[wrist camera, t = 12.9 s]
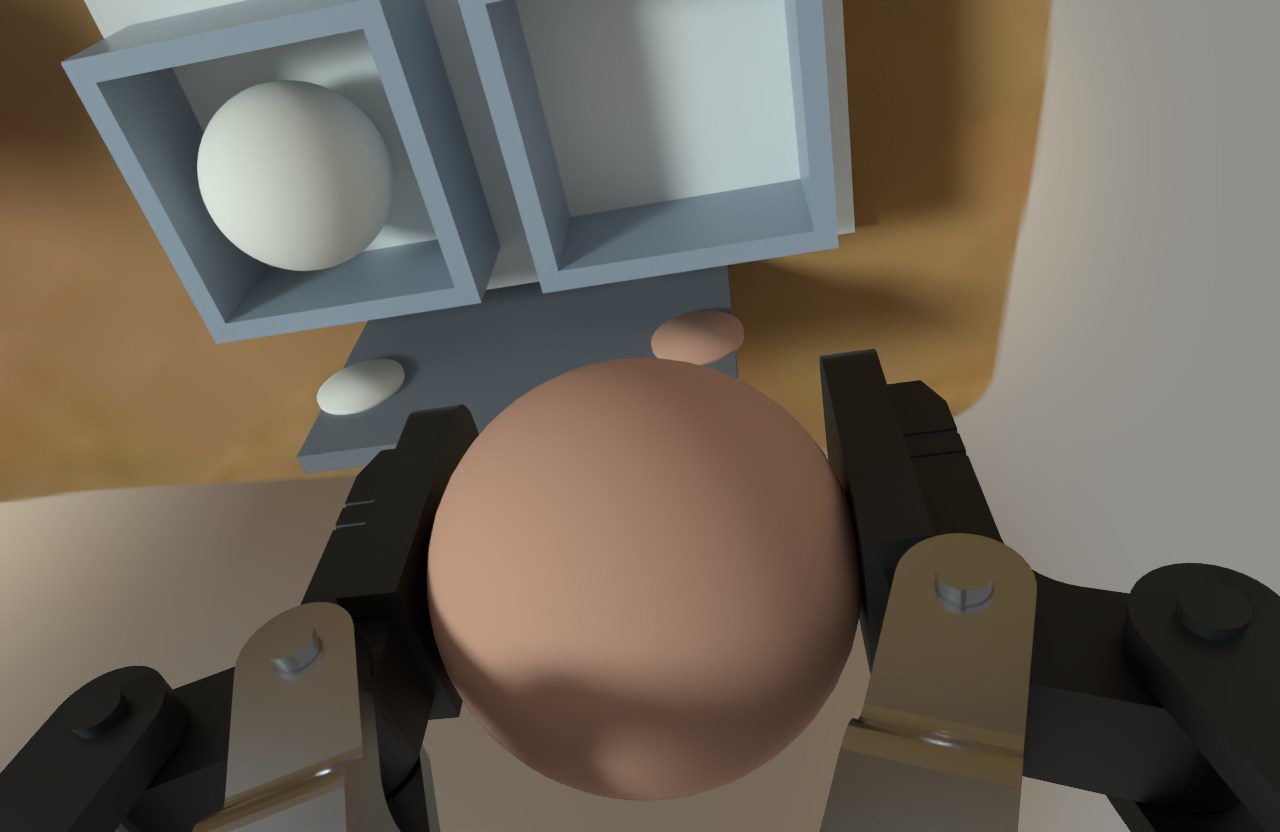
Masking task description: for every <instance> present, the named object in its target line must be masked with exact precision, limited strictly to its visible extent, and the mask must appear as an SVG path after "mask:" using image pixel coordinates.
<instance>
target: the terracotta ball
mask: <svg viewBox="0 0 1280 832" xmlns="http://www.w3.org/2000/svg"><path fill="white" fill-rule="evenodd" d="M861 591H862V587H861V578H860V568H859V559H858V552H857V545H856V538H855V532H854V527H853V521H852V516H851V510H850V506H849V503H848V500H847V496H846V494H845V491H844V488H843V486H842V484H841V482H840V481H839V479H838V477H837V475H836V473H835V472H834V470H833V468H832V466H831V465H830V463H829V461H828V459H827V458H826V456H825V454H824V452H823V451H822V450H821V448H820V447H819V446H818V445H817V443H816V442H815V441H814V440H813V438H812V437H811V436H810V435H809V434H808V432H807V431H806V430H805V429H804V428H803V427H802V426H801V425H800V423H799V422H798V421H797V420H795V419H794V418H793V417H792V416H791V415H790V414H789V413H788V412H787V411H786V410H785V409H784V408H783V407H781V406H780V405H779V404H777V403H776V402H774V401H773V400H771V399H770V398H768V397H767V396H766V395H764V394H763V393H761V392H760V391H758V390H757V389H755V388H754V387H752V386H750V385H748V384H746V383H744V382H742V381H741V380H739V379H737V378H735V377H733V376H731V375H728V374H725V373H723V372H720V371H717V370H715V369H712V368H709V367H705V366H701V365H697V364H693V363H689V362H684V361H677V360H670V359H662V358H630V359H618V360H610V361H605V362H600V363H595V364H590V365H587V366H584V367H580V368H577V369H574V370H571V371H568V372H566V373H564V374H561V375H559V376H557V377H555V378H553V379H551V380H549V381H546V382H545V383H543V384H541V385H539V386H537V387H535V388H534V389H532V390H531V391H529V392H528V393H526V394H524V395H523V396H521V397H520V398H518V399H516V400H515V401H514V402H513V403H512V404H511V405H509V406H508V407H507V408H506V409H505V410H504V411H502V412H501V413H500V414H499V415H498V416H497V417H496V418H495V419H494V420H493V421H492V422H490V423H489V424H488V425H487V427H486V428H485V429H484V430H483V431H482V432H481V433H480V435H479V436H478V437H477V438H476V439H475V440H474V442H473V443H472V444H471V446H470V447H469V449H468V450H467V452H466V453H465V455H464V456H463V458H462V459H461V461H460V463H459V464H458V466H457V467H456V469H455V471H454V472H453V474H452V476H451V478H450V480H449V483H448V485H447V487H446V490H445V492H444V495H443V497H442V500H441V502H440V505H439V507H438V510H437V512H436V516H435V520H434V525H433V530H432V534H431V540H430V545H429V550H428V559H427V599H428V606H429V613H430V619H431V624H432V630H433V635H434V638H435V641H436V644H437V647H438V650H439V653H440V656H441V659H442V661H443V664H444V666H445V669H446V671H447V674H448V676H449V678H450V679H451V681H452V683H453V685H454V687H455V688H456V690H457V692H458V694H459V695H460V697H461V699H462V700H463V702H464V704H465V705H466V707H467V708H468V709H469V711H470V712H471V713H472V714H473V716H474V717H475V718H476V719H477V720H478V722H479V723H480V724H481V725H482V726H483V727H484V729H485V730H486V731H487V732H488V733H489V734H490V736H491V737H492V738H493V739H495V740H496V741H497V742H498V743H499V744H500V745H501V746H502V747H503V748H505V749H506V750H507V751H508V752H510V753H511V754H512V755H514V756H515V757H516V758H518V759H519V760H520V761H522V762H523V763H525V764H526V765H527V766H529V767H530V768H532V769H533V770H535V771H537V772H539V773H540V774H542V775H544V776H546V777H548V778H550V779H553V780H555V781H557V782H559V783H562V784H564V785H567V786H570V787H572V788H575V789H578V790H581V791H584V792H587V793H591V794H595V795H599V796H604V797H609V798H615V799H624V800H640V801H642V800H643V801H647V800H665V799H674V798H680V797H685V796H690V795H694V794H697V793H701V792H705V791H708V790H712V789H715V788H718V787H721V786H723V785H726V784H729V783H731V782H733V781H735V780H737V779H739V778H741V777H744V776H745V775H747V774H749V773H750V772H752V771H753V770H755V769H757V768H758V767H760V766H762V765H763V764H764V763H766V762H768V761H769V760H771V759H773V758H774V757H775V756H777V755H778V754H779V753H780V752H781V751H782V750H784V749H785V748H786V747H787V746H788V745H789V744H790V743H791V742H792V741H793V740H795V739H796V738H797V737H798V736H799V735H800V734H801V733H802V732H803V731H804V729H805V728H806V727H807V726H808V725H809V724H810V723H811V722H812V720H813V719H814V718H815V716H816V715H817V714H818V712H819V711H820V709H821V708H822V706H823V705H824V703H825V702H826V700H827V699H828V697H829V696H830V694H831V693H832V691H833V690H834V688H835V686H836V684H837V682H838V680H839V677H840V675H841V673H842V670H843V668H844V666H845V663H846V662H847V659H848V657H849V655H850V652H851V650H852V646H853V641H854V637H855V633H856V629H857V624H858V620H859V616H860V611H861Z"/></svg>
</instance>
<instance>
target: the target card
mask: <svg viewBox="0 0 1280 832" xmlns="http://www.w3.org/2000/svg"><path fill="white" fill-rule="evenodd" d="M743 341H744V329H743V325H742V323H741V322H740V321H739V319H737V318H736V317H735V316H733V315H732V304H731V293H730V282H729V272H728V265H724V266H718V267H711V268H705V269H698V270H692V271H685V272H679V273H672V274H666V275H659V276H653V277H646V278H640V279H633V280H627V281H620V282H614V283H607V284H601V285H595V286H588V287H582V288H575V289H569V290H562V291H556V292H549V293H543V292H542V289H541V285H540V282H533V283H527V284H520V285H514V286H507V287H501V288H495V289H488V290H486V291H485V294H484V297H483V300H482V303H478V304H471V305H465V306H458V307H452V308H446V309H439V310H433V311H426V312H420V313H413V314H407V315H400V316H394V317H387V318H381V319H374V320H368V322H367V324H366V326H365V328H364V330H363V331H362V333H361V335H360V337H359V339H358V341H357V343H356V345H355V347H354V349H353V351H352V352H351V354H350V356H349V358H348V360H347V362H346V364H345V366H344V368H343V369H342V370H340V371H339V372H337V373H335V374H334V375H333V376H331V377H330V378H329V379H328V380H327V381H326V382H325V383H324V384H323V385H322V386H321V388H320V389H319V391H318V394H317V401H318V404H319V406H320V408H321V409H322V410H321V412H320V413H319V415H318V417H317V419H316V421H315V423H314V425H313V427H312V429H311V431H310V433H309V434H308V436H307V438H306V440H305V442H304V444H303V446H302V448H301V450H300V452H299V454H298V455H297V459H298V460H299V462H300V464H301V466H302V468H303V470H304V471H305V473H306V474H307V473H314V472H322V471H330V470H337V469H345V468H353V467H360V466H367V465H368V464H369V463H370V462H371V461H372V459H373V458H374V457H375V456H376V455H377V454H378V453H379V452H380V451H381V450H388V449H395V448H396V446H397V443H398V441H399V438H400V436H401V433H402V431H403V428H404V426H405V423H406V421H407V418H408V416H409V415H410V413H411V412H413V411H419V410H426V409H433V408H440V407H448V406H455V405H465V406H466V407H467V408H468V409H469V410H470V412H471V414H472V416H473V419H474V421H475V424H476V427H477V430H478V432H479V435H480V433H481V432H482V431H483V430H484V429H485V428H486V427H487V425H488V424H489V423H490V422H492V421H493V420H494V419H495V418H496V417H497V416H498V415H499V414H500V413H501V412H502V411H504V410H505V409H506V408H507V407H508V406H509V405H511V404H512V403H513V402H514V401H515V400H516V399H518V398H520V397H521V396H523V395H524V394H526V393H528V392H529V391H531V390H532V389H534V388H535V387H537V386H539V385H541V384H543V383H545V382H546V381H549V380H551V379H553V378H555V377H557V376H559V375H561V374H564V373H566V372H568V371H571V370H574V369H577V368H580V367H584V366H587V365H590V364H595V363H600V362H605V361H610V360H618V359H630V358H662V359H670V360H677V361H684V362H689V363H693V364H697V365H701V366H705V367H709V368H712V369H715V370H717V371H720V372H723V373H725V374H728V375H731V376H733V377H735V378H737V379H738V369H737V358H736V351H737V350H738V349H739V348H740V346H741V345H742V343H743Z"/></svg>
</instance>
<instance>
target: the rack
mask: <svg viewBox="0 0 1280 832" xmlns="http://www.w3.org/2000/svg"><path fill="white" fill-rule="evenodd" d="M84 1H85V3H86V5H87V7H88V9H89V11H90V13H91V15H92V17H93V19H94V20H95V22H96V24H97V26H98V28H99V30H100V32H101V34H102V36H103V38H104V39H103V40H101V41H99V42H97V43H96V44H94V45H92V46H90V47H88V48H86V49H84V50H83V51H81V52H79V53H77V54H75V55H73V56H71V57H70V58H68V59H66V60H64V61H62V62H60V63H61V65H62V67H63V68H64V70H65V72H66V74H67V76H68V77H69V79H70V81H71V83H72V85H73V86H74V88H75V90H76V92H77V94H78V95H79V97H80V99H81V101H82V103H83V104H84V106H85V108H86V110H87V112H88V113H89V115H90V117H91V119H92V121H93V122H94V124H95V126H96V128H97V130H98V131H99V133H100V135H101V137H102V139H103V140H104V142H105V144H106V146H107V148H108V149H109V151H110V153H111V155H112V157H113V158H114V160H115V162H116V164H117V166H118V167H119V169H120V171H121V173H122V175H123V176H124V178H125V180H126V182H127V184H128V186H129V187H130V189H131V191H132V193H133V195H134V196H135V198H136V200H137V202H138V204H139V205H140V207H141V209H142V211H143V213H144V214H145V216H146V218H147V220H148V222H149V223H150V225H151V227H152V229H153V231H154V232H155V234H156V236H157V238H158V240H159V241H160V243H161V245H162V247H163V249H164V250H165V252H166V254H167V256H168V258H169V259H170V261H171V263H172V265H173V267H174V268H175V270H176V272H177V274H178V276H179V277H180V279H181V281H182V283H183V285H184V286H185V288H186V290H187V292H188V294H189V295H190V297H191V299H192V301H193V303H194V304H195V306H196V308H197V310H198V312H199V313H200V315H201V317H202V319H203V321H204V323H205V324H206V326H207V328H208V330H209V332H210V333H211V335H212V337H213V339H214V341H215V342H216V344H219V343H225V342H232V341H238V340H245V339H251V338H258V337H264V336H271V335H277V334H284V333H290V332H297V331H303V330H310V329H316V328H322V327H329V326H335V325H342V324H348V323H355V322H361V321H368V320H374V319H381V318H387V317H394V316H400V315H407V314H413V313H420V312H426V311H433V310H439V309H446V308H452V307H458V306H465V305H471V304H478V303H482V300H483V297H484V294H485V291H486V290H488V289H495V288H501V287H507V286H514V285H520V284H527V283H533V282H540V285H541V289H542V292H543V293H549V292H556V291H562V290H569V289H575V288H582V287H588V286H595V285H601V284H607V283H614V282H620V281H627V280H633V279H640V278H646V277H653V276H659V275H666V274H672V273H679V272H685V271H692V270H698V269H705V268H711V267H718V266H724V265H731V264H737V263H744V262H750V261H756V260H763V259H769V258H776V257H782V256H789V255H795V254H802V253H808V252H815V251H821V250H828V249H834V248H839V246H838V235H840V234H846V233H853V232H855V223H854V204H853V186H852V168H851V149H850V131H849V112H848V94H847V75H846V57H845V38H844V20H843V1H842V0H84ZM279 80H294V81H303V82H309V83H313V84H317V85H320V86H323V87H325V88H328V89H330V90H332V91H334V92H336V93H338V94H340V95H341V96H343V97H345V98H346V99H348V100H349V101H351V102H352V103H353V104H355V105H356V106H357V107H358V108H359V109H360V110H362V111H363V112H364V114H365V115H366V116H367V117H368V118H369V119H370V120H371V122H372V123H373V124H374V126H375V127H376V128H377V130H378V131H379V133H380V135H381V136H382V138H383V140H384V142H385V144H386V146H387V149H388V151H389V154H390V158H391V161H392V167H393V173H394V195H393V202H392V206H391V210H390V213H389V215H388V218H387V220H386V222H385V224H384V227H383V228H382V230H381V231H380V233H379V234H378V236H377V237H376V238H375V239H374V241H373V242H372V243H371V244H370V245H369V246H368V247H367V248H366V249H364V250H363V251H362V252H361V253H359V254H358V255H357V256H355V257H354V258H352V259H350V260H348V261H346V262H344V263H341V264H339V265H336V266H333V267H330V268H326V269H321V270H311V271H295V270H288V269H283V268H279V267H275V266H272V265H269V264H266V263H264V262H261V261H259V260H257V259H255V258H253V257H251V256H250V255H248V254H247V253H245V252H243V251H242V250H241V249H239V248H238V247H237V246H235V245H234V244H233V243H232V242H231V241H230V240H229V239H228V238H227V237H226V236H225V235H224V234H223V233H222V232H221V230H220V229H219V228H218V226H217V225H216V224H215V222H214V220H213V219H212V217H211V215H210V214H209V212H208V210H207V208H206V205H205V203H204V201H203V198H202V195H201V192H200V187H199V181H198V174H197V161H198V152H199V147H200V143H201V140H202V136H203V134H204V132H205V130H206V128H207V126H208V124H209V122H210V120H211V119H212V118H213V116H214V115H215V113H216V112H217V111H218V110H219V109H220V108H221V107H222V106H223V105H224V104H225V103H226V102H227V101H228V100H229V99H231V98H232V97H234V96H235V95H237V94H238V93H240V92H242V91H243V90H245V89H248V88H250V87H252V86H255V85H259V84H262V83H266V82H270V81H279Z"/></svg>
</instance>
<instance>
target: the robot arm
mask: <svg viewBox="0 0 1280 832" xmlns="http://www.w3.org/2000/svg"><path fill="white" fill-rule="evenodd" d="M820 373H821V385H822V396H823V408H824V419H825V430H826V442H827V452H828V460H829V463H830V465H831V466H832V468H833V470H834V472H835V473H836V475H837V477H838V479H839V481H840V482H841V484H842V486H843V488H844V491H845V494H846V496H847V500H848V503H849V506H850V510H851V516H852V521H853V527H854V532H855V538H856V545H857V552H858V559H859V568H860V578H861V587H862V591H861V611H860V616H859V620H860V625H861V630H862V634H863V640H864V645H865V649H866V654H867V659H868V664H869V669H870V674H871V676H870V680H869V684H868V689H867V693H866V697H865V701H864V706H863V710H862V712H861V715H860V718H859V719H856V718H852V719H851V720H850V722H849V724H848V726H847V728H846V731H845V734H844V737H843V740H842V744H841V747H840V751H839V756H838V759H837V763H836V767H835V772H834V776H833V780H832V784H831V788H830V792H829V796H828V800H827V804H826V808H825V812H824V816H823V820H822V824H821V828H820V832H1018V821H1019V810H1020V798H1021V785H1022V776H1025V777H1029V778H1034V779H1039V780H1043V781H1047V782H1051V783H1056V784H1060V785H1065V786H1069V787H1074V788H1078V789H1083V790H1087V791H1092V792H1096V793H1100V794H1105V795H1106V796H1107V798H1108V799H1109V801H1110V802H1111V804H1112V805H1113V807H1114V808H1115V810H1116V811H1117V812H1118V814H1119V815H1120V817H1121V818H1122V820H1123V821H1124V823H1125V824H1126V825H1127V827H1128V828H1129V830H1130V831H1131V832H1280V596H1278V595H1277V594H1276V593H1275V592H1273V591H1272V590H1271V589H1270V588H1268V587H1267V586H1265V585H1264V584H1262V583H1260V582H1259V581H1257V580H1255V579H1253V578H1251V577H1249V576H1247V575H1245V574H1242V573H1239V572H1237V571H1234V570H1231V569H1228V568H1223V567H1220V566H1216V565H1209V564H1201V563H1181V564H1172V565H1168V566H1163V567H1160V568H1158V569H1155V570H1152V571H1151V572H1149V573H1148V574H1146V575H1144V576H1143V577H1142V578H1140V579H1139V580H1138V581H1137V582H1136V584H1135V585H1134V587H1133V588H1132V590H1131V593H1130V594H1129V593H1122V592H1115V591H1108V590H1101V589H1094V588H1087V587H1080V586H1075V585H1070V584H1066V583H1063V582H1059V581H1055V580H1053V579H1051V578H1048V577H1046V576H1043V575H1041V574H1039V573H1037V572H1036V571H1034V570H1032V569H1031V568H1030V566H1029V564H1028V563H1027V562H1026V561H1025V560H1024V558H1023V557H1022V556H1020V555H1019V554H1018V553H1017V552H1016V551H1015V550H1013V549H1011V548H1010V547H1008V546H1007V545H1005V544H1004V542H1003V541H1002V539H1001V537H1000V534H999V532H998V529H997V527H996V524H995V522H994V519H993V517H992V515H991V512H990V509H989V507H988V504H987V502H986V499H985V497H984V494H983V492H982V489H981V487H980V485H979V482H978V479H977V477H976V475H975V472H974V469H973V467H972V464H971V462H970V459H969V457H968V456H966V450H965V447H964V444H963V442H962V440H961V437H960V435H959V434H958V433H957V427H956V425H955V422H954V420H953V417H952V415H951V412H950V410H949V407H948V405H947V402H946V401H945V400H944V399H943V398H942V397H940V396H939V395H938V394H937V393H935V392H934V391H933V390H932V389H931V388H929V387H928V386H927V385H926V384H925V383H923V382H922V381H921V380H918V381H911V382H903V383H896V384H888V385H887V383H886V380H885V377H884V374H883V371H882V367H881V364H880V361H879V358H878V355H877V352H876V350H875V349H868V350H861V351H854V352H846V353H839V354H832V355H825V356H820ZM478 436H479V432H478V430H477V427H476V424H475V421H474V419H473V416H472V414H471V412H470V410H469V409H468V408H467V407H466V406H465V405H455V406H448V407H440V408H433V409H426V410H419V411H413V412H411V413H410V415H409V416H408V418H407V421H406V423H405V426H404V428H403V431H402V433H401V436H400V438H399V441H398V443H397V446H396V448H395V449H388V450H381V451H380V452H379V453H378V454H377V455H376V456H375V457H374V458H373V459H372V461H371V462H370V463H369V464H368V465H367V466H366V467H365V468H364V469H363V470H362V471H361V472H360V473H359V474H358V475H357V477H356V479H355V481H354V484H353V486H352V488H351V491H350V493H349V495H348V498H347V500H346V502H345V504H346V508H343V509H342V511H341V513H340V516H339V518H338V521H337V523H336V530H333V532H332V534H331V536H330V539H329V541H328V543H327V546H326V548H325V550H324V552H323V554H322V557H321V559H320V561H319V564H318V566H317V568H316V571H315V573H314V575H313V578H312V580H311V582H310V584H309V586H308V589H307V591H306V593H305V596H304V598H303V600H302V602H301V605H300V606H296V607H293V608H291V609H289V610H286V611H284V612H282V613H280V614H279V615H277V616H275V617H274V618H272V619H271V620H269V621H268V622H266V623H265V624H264V625H263V626H262V627H260V628H259V629H258V630H257V631H256V632H255V633H254V634H253V635H252V636H251V637H250V638H249V640H248V641H247V642H246V644H245V645H244V646H243V648H242V650H241V652H240V653H239V656H238V658H237V661H236V665H235V667H232V668H230V669H228V670H225V671H222V672H219V673H217V674H214V675H211V676H208V677H206V678H203V679H201V680H198V681H195V682H192V683H189V684H187V685H184V686H181V687H178V688H176V689H173V690H172V688H171V687H170V686H169V685H168V683H167V682H166V681H165V679H164V678H163V677H162V676H161V675H160V674H159V673H158V671H156V670H154V669H152V668H150V667H145V666H130V667H124V668H120V669H116V670H113V671H111V672H108V673H105V674H104V675H101V676H99V677H97V678H95V679H94V680H92V681H90V682H89V683H87V684H86V685H84V686H83V687H81V688H80V689H79V690H77V691H76V692H74V693H73V694H72V695H71V696H70V697H69V698H67V699H66V700H65V701H64V702H63V703H62V704H61V705H60V706H59V707H58V708H57V709H56V711H55V712H54V713H53V714H52V715H51V716H50V718H49V719H48V720H47V721H46V722H45V723H44V724H43V725H42V727H41V728H40V729H39V730H38V731H37V732H36V733H35V734H34V736H33V737H32V738H31V739H30V740H29V741H28V743H27V744H26V745H25V746H24V747H23V748H22V749H21V751H20V752H19V753H18V754H17V755H16V756H15V757H14V758H13V760H12V761H11V762H10V763H9V764H8V765H7V766H6V768H5V769H4V770H3V771H2V772H1V773H0V832H440V825H439V818H438V811H437V805H436V797H435V791H434V784H433V777H432V770H431V763H430V759H429V755H428V753H427V752H426V750H425V748H424V746H423V744H422V743H423V739H424V734H425V730H426V727H427V723H428V720H432V719H444V718H454V717H459V715H460V710H461V706H462V702H463V700H462V699H461V697H460V695H459V694H458V692H457V690H456V688H455V687H454V685H453V683H452V681H451V679H450V678H449V676H448V674H447V671H446V669H445V666H444V664H443V661H442V659H441V656H440V653H439V650H438V647H437V644H436V641H435V638H434V635H433V630H432V624H431V619H430V613H429V606H428V599H427V559H428V550H429V545H430V540H431V534H432V530H433V525H434V520H435V516H436V512H437V510H438V507H439V505H440V502H441V500H442V497H443V495H444V492H445V490H446V487H447V485H448V483H449V480H450V478H451V476H452V474H453V472H454V471H455V469H456V467H457V466H458V464H459V463H460V461H461V459H462V458H463V456H464V455H465V453H466V452H467V450H468V449H469V447H470V446H471V444H472V443H473V442H474V440H475V439H476V438H477V437H478Z"/></svg>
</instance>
